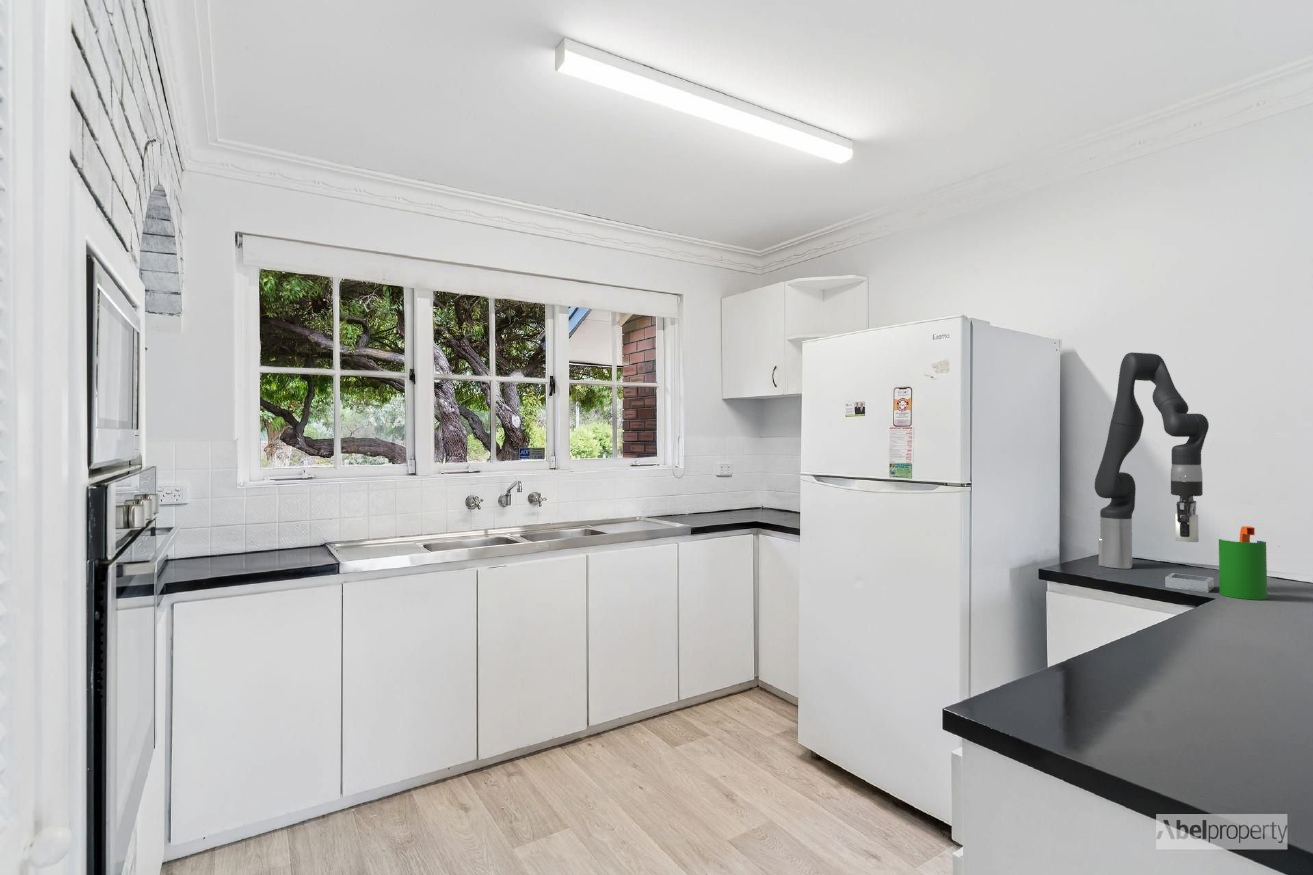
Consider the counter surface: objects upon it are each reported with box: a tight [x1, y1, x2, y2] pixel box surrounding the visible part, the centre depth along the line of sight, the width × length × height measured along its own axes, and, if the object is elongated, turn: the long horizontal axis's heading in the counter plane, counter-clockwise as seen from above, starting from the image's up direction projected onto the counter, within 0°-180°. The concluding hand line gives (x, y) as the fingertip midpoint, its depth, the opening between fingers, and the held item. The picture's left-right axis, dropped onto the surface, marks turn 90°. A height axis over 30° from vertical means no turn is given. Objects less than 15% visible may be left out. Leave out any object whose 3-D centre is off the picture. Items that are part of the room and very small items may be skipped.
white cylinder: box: [1174, 512, 1199, 543], centre depth 201 cm, size 5×5×9 cm
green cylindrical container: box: [1218, 525, 1268, 601], centre depth 189 cm, size 10×9×20 cm
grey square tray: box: [1164, 572, 1215, 593], centre depth 201 cm, size 10×10×3 cm
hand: (1186, 535), depth 201 cm, fingers closed on white cylinder, 5 cm apart
